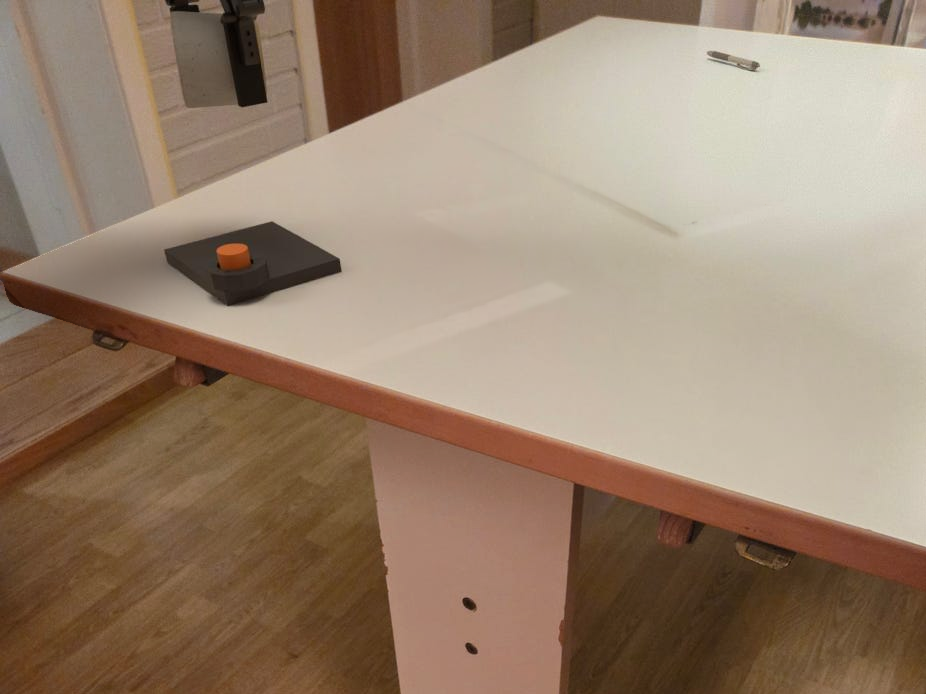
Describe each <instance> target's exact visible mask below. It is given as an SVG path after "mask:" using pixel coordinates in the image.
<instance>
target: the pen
mask: <svg viewBox="0 0 926 694" xmlns="http://www.w3.org/2000/svg"><path fill="white" fill-rule="evenodd" d="M706 55H707V56H708V57H711V58H713V59H717V60H721V61H724V62H729V63H734V64H736V66H737V67H738V68H740V69H742V70H747V71H756V70H757V69H758V68H761V64H760V62H758V61H755V60H751V59H747V58H743V57H739V56H735V55H732V54H728V53H724V52H720V51H716V50H708V51H706Z"/></svg>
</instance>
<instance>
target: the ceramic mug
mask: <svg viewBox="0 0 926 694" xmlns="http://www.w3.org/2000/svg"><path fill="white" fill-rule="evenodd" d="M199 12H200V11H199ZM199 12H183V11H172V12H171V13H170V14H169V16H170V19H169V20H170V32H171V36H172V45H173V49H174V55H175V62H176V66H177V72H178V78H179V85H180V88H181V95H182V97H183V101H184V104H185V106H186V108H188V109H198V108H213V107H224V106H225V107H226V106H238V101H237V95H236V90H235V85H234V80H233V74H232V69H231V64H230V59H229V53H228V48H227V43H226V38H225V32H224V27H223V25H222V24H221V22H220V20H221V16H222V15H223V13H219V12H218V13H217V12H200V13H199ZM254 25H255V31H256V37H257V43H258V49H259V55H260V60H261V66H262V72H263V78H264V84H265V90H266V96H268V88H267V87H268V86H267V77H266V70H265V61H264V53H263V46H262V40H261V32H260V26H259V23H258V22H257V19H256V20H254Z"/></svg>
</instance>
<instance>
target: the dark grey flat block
mask: <svg viewBox="0 0 926 694" xmlns="http://www.w3.org/2000/svg"><path fill="white" fill-rule="evenodd" d="M235 243H237V244H244V245H246V246H247V247H248V251H249V256H250V261H251V266H249V267H247V268H243V269H240V270H229V271H228V270H222V269H220V264H219V260H218V256H217V249H218V248H219V247H221V246H224V245H227V244H235ZM163 252H164V255H165V256H164V257H165V259H166V262H167V264H169V265H170V266H171V267H173V268H174V269H176V270H177V271H178V272H180V273H181V274H182V275H184V276H185V277H187V278H188V279H189V280H191V281H192V282H193V283H195V284H196V285H198V286H199V287H200V288H202V289H203V290H204V291H206V292H208V293H209V294H210V295H212V296H213V297H214V298H216V299H217V300H218V301H220V302H221V303H222V304H224V305H225V306H227V307H230V306H233V305H236V304H241V303H242V302H247V301H249V300H252V299H256V298H259V297H263V296H266V295H269V294H272V293H277V292H280V291H283V290H286V289H290V288H292V287H296V286H299V285H302V284H306V283H309V282H313V281H315V280H319V279H322V278H325V277H329V276H332V275H335V274H339V273H342V265H341V259H340V258H339V257H338V256H336V255H334V254H332V253H331V252H329V251H327V250H325V249H323V248H322V247H319V246H318V245H316V244H315V243H313V242H310V241H309V240H307V239H305V238H303V237H302V236H300V235H298V234H297V233H294V232H292V231H291V230H290V229H287V228H285V227H283V226H282V225H280V224H278V223H276V222H275V221H273V220H272V221H268V222H264V223H260V224H255V225H252V226H248V227H244V228H241V229H237V230H234V231H230V232H226V233H221V234H218V235H215V236H211V237H206V238H203V239H199V240H195V241H192V242H187V243H184V244H179V245H176V246H172V247H168V248H164V249H163Z"/></svg>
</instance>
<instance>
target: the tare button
mask: <svg viewBox="0 0 926 694" xmlns="http://www.w3.org/2000/svg"><path fill="white" fill-rule="evenodd" d="M217 256H218V260H219V264H220V269H222V270H228V271H229V270H240V269H243V268H247V267H249V266H251V261H250V256H249V251H248V247H247V246H246V245H244V244H237V243H235V244H227V245H224V246H221V247H219V248H218V249H217Z"/></svg>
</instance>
